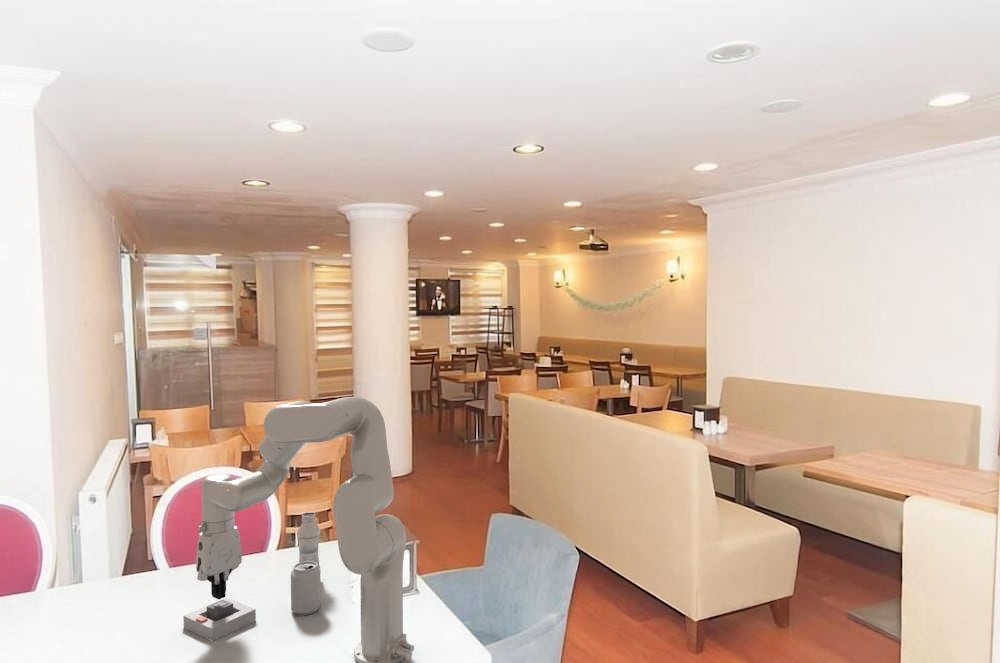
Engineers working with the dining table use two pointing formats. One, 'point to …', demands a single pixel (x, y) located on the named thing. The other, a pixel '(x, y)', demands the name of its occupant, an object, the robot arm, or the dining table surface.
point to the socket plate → (219, 621)
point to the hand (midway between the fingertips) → (218, 596)
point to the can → (305, 588)
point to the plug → (219, 610)
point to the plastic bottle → (308, 539)
